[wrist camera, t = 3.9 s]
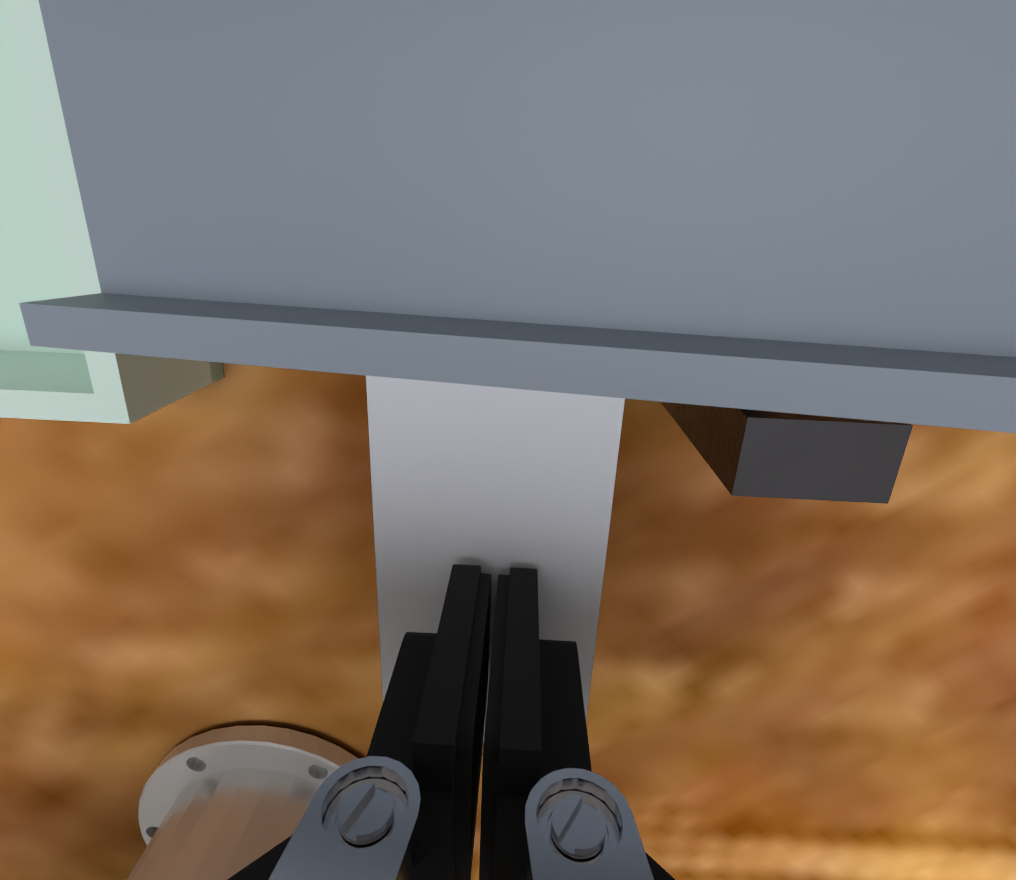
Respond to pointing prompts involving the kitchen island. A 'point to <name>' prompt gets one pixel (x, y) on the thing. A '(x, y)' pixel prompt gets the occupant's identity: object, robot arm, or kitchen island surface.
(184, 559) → the kitchen island surface
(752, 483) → the lever stand
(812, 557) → the kitchen island surface
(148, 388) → the bin
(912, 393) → the lever
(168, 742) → the kitchen island surface
